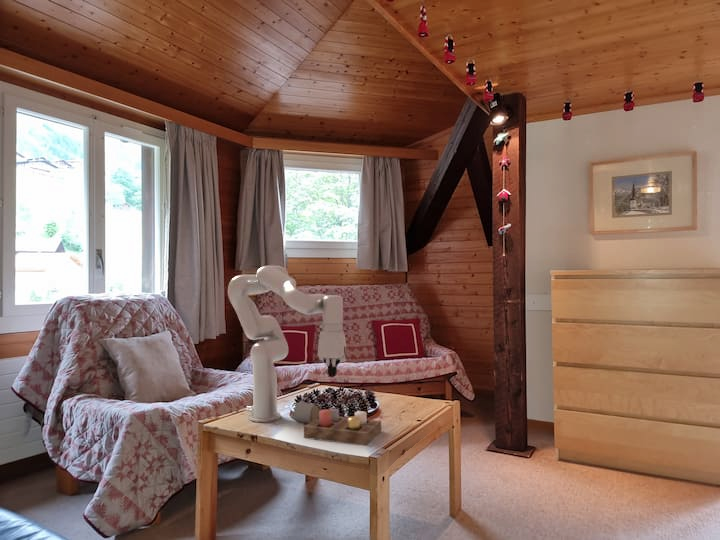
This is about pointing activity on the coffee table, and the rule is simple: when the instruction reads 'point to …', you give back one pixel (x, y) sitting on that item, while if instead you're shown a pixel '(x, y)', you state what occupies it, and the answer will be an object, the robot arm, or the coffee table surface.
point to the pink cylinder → (325, 418)
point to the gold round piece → (354, 423)
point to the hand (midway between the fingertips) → (332, 376)
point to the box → (343, 431)
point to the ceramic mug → (305, 412)
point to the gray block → (335, 415)
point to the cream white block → (362, 417)
